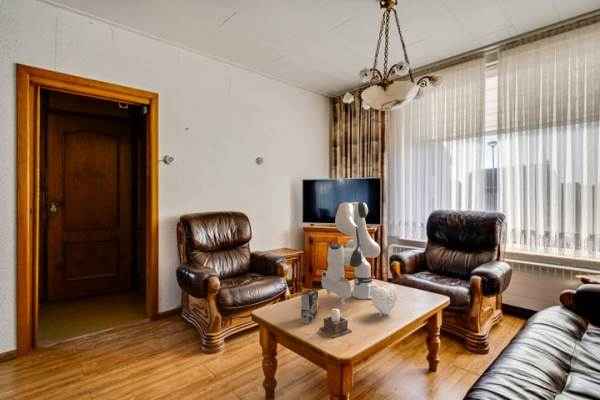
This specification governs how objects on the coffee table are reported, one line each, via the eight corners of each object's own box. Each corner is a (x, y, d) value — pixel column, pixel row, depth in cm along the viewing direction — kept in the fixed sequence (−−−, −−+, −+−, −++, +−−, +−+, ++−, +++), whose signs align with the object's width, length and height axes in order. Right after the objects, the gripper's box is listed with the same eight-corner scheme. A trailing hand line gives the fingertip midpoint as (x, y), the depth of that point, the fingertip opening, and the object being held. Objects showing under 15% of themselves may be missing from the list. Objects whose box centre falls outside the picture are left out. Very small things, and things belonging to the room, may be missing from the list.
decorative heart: (380, 321, 168) (380, 291, 167) (367, 314, 177) (367, 286, 176) (401, 314, 177) (401, 285, 177) (387, 308, 186) (388, 281, 186)
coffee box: (310, 324, 163) (310, 295, 163) (300, 321, 167) (300, 293, 166) (318, 318, 171) (318, 290, 171) (308, 316, 175) (308, 288, 174)
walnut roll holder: (336, 323, 164) (336, 312, 164) (351, 332, 154) (351, 320, 154) (319, 329, 158) (319, 318, 158) (334, 338, 148) (334, 326, 148)
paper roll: (335, 326, 159) (336, 307, 159) (341, 329, 155) (341, 310, 155) (329, 328, 157) (329, 309, 156) (334, 331, 153) (334, 312, 153)
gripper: (354, 279, 148) (354, 306, 149) (328, 269, 165) (328, 294, 166) (344, 281, 145) (345, 309, 145) (319, 271, 162) (319, 296, 162)
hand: (336, 301), depth 156 cm, fingers open, 8 cm apart
